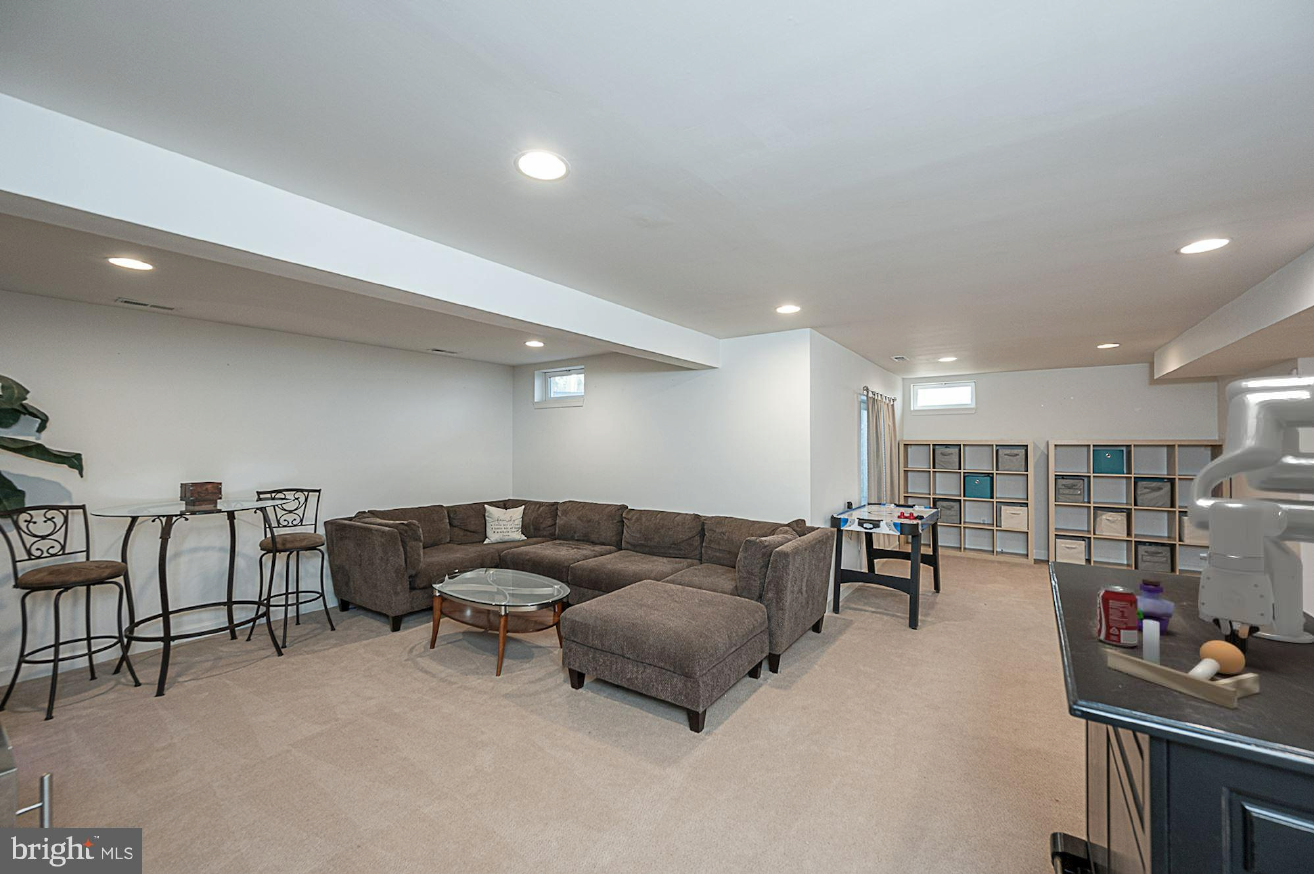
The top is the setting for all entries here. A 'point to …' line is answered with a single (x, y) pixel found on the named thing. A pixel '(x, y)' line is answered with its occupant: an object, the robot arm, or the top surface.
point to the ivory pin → (1205, 669)
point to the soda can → (1117, 616)
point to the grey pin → (1151, 641)
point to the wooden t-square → (1188, 680)
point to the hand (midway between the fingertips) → (1236, 654)
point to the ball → (1223, 656)
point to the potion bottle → (1153, 605)
